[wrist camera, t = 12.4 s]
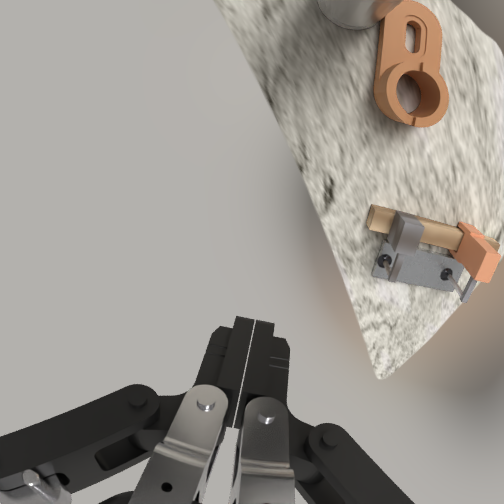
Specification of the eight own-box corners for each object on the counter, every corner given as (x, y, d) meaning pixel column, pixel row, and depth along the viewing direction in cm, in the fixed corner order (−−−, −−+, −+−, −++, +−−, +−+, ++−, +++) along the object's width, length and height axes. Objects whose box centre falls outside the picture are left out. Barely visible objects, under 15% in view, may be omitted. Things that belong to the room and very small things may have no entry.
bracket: (423, 128, 38) (443, 134, 32) (369, 114, 39) (382, 117, 33) (435, 15, 30) (456, 5, 24) (381, -2, 31) (395, -17, 24)
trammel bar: (372, 199, 44) (384, 217, 38) (494, 234, 43) (515, 253, 37) (356, 254, 48) (363, 278, 42) (474, 280, 47) (491, 302, 41)
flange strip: (382, 239, 47) (383, 242, 46) (464, 259, 46) (466, 262, 45) (370, 272, 49) (371, 276, 48) (450, 288, 49) (452, 292, 48)
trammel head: (459, 221, 43) (488, 249, 34) (473, 225, 43) (502, 253, 34) (438, 272, 47) (460, 307, 39) (452, 275, 47) (474, 309, 39)
